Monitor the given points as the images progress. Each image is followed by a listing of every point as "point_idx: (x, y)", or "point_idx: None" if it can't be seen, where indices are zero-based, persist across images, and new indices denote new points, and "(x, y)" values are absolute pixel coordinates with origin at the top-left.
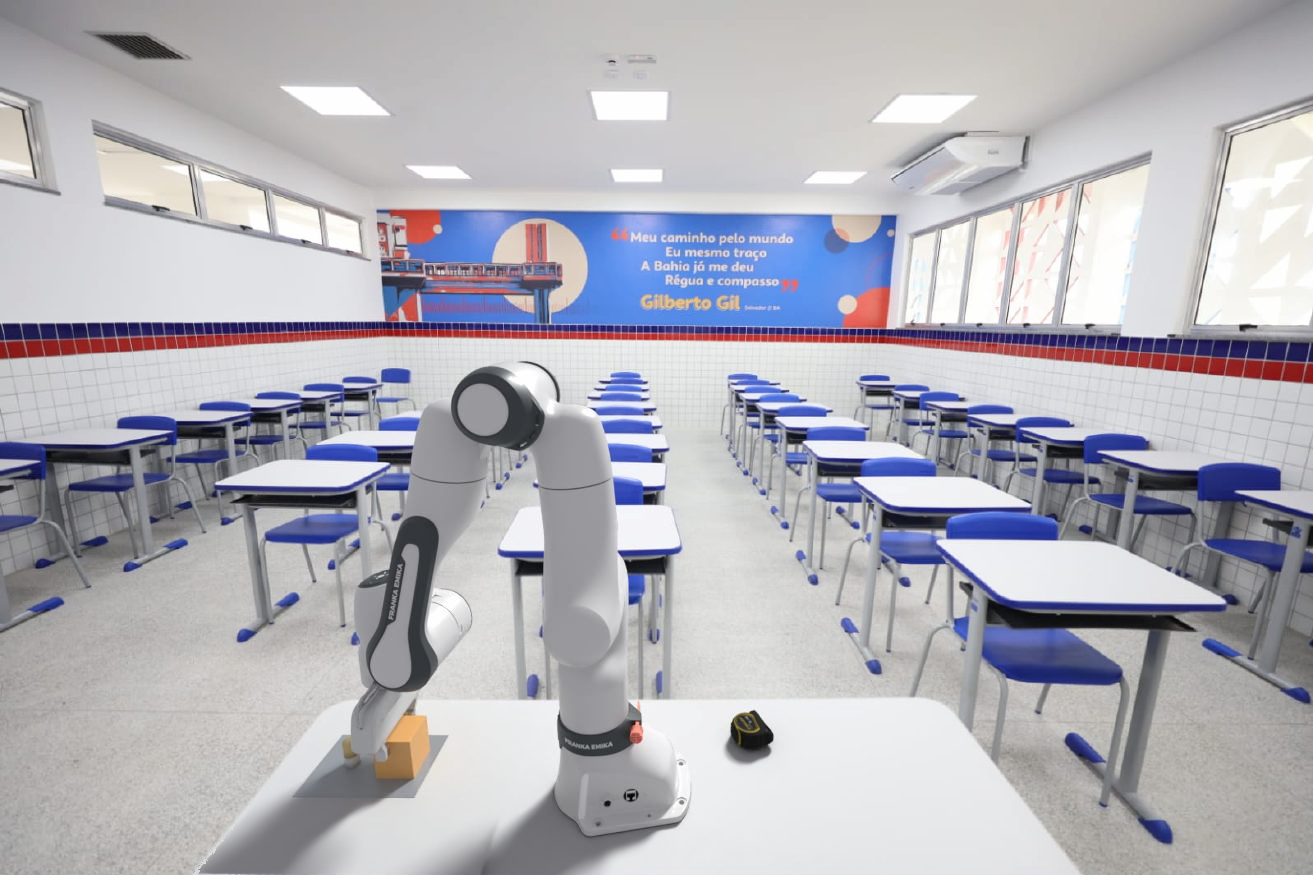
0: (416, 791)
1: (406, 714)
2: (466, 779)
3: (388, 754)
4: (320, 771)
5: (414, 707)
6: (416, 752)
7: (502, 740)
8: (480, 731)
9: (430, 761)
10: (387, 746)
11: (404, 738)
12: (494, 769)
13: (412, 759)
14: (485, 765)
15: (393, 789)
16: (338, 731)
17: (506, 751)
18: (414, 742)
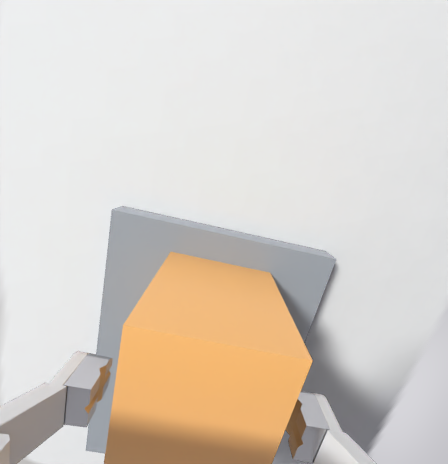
0: (317, 258)
1: (93, 401)
2: (277, 136)
3: (311, 400)
4: None
5: (56, 392)
6: (251, 296)
7: (134, 30)
8: (84, 116)
9: (216, 243)
10: (307, 431)
11: (279, 384)
12: (260, 50)
13: (280, 301)
14: (236, 82)
15: (293, 311)
16: (62, 446)
17: (189, 10)
18: (263, 326)
